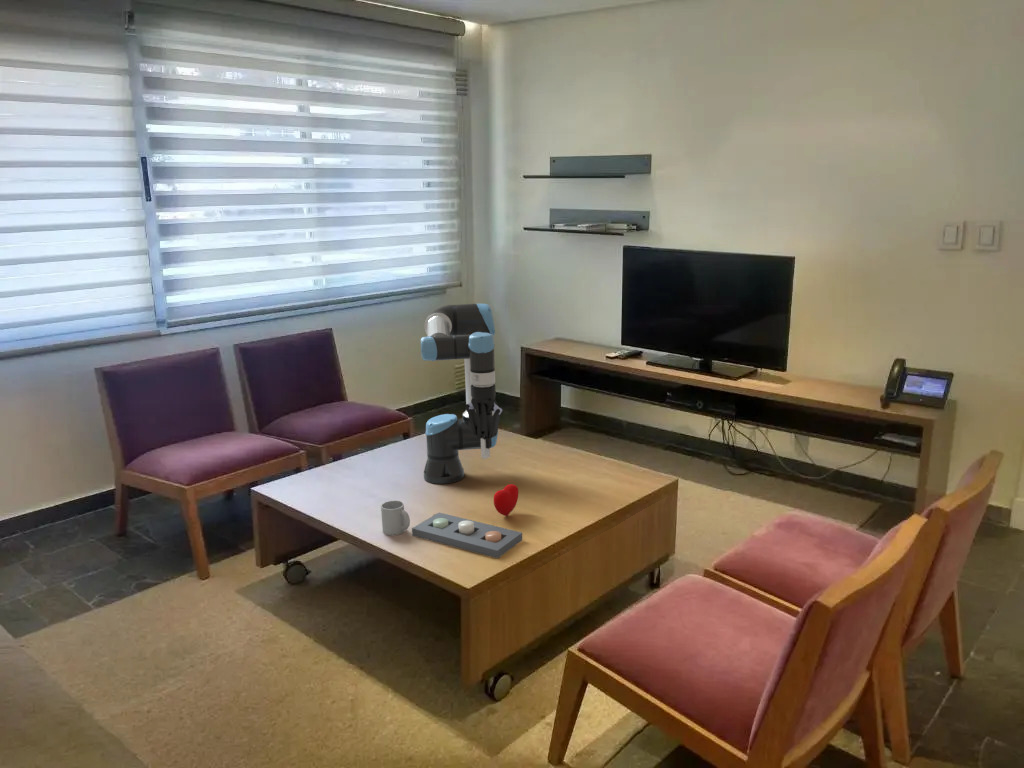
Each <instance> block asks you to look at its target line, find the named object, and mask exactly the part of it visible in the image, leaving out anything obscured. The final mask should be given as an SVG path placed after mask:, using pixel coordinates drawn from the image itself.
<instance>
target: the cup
mask: <svg viewBox="0 0 1024 768" xmlns="http://www.w3.org/2000/svg"><path fill="white" fill-rule="evenodd" d="M380 512H381V526H382V527H381V528H382V532H383V534H385V535H387V536H398V535H402V534H403V533H404V532H405V531H407V530H408V529H409V527H410V524H411V520H410V515H409V514H408V512H407V511H406V510H405V503H404V502H403V501H401V500H388V501H384V502H383V503H382V504H381V505H380Z"/></svg>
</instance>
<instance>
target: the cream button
mask: <svg viewBox="0 0 1024 768" xmlns="http://www.w3.org/2000/svg"><path fill="white" fill-rule="evenodd" d="M468 520H469V519H468ZM468 520H467V521H461V522H459V524H458V526H459V534H462V535H466V536H470V535H471V534H473V533H474V522H472V521H473V520H472V521H468Z"/></svg>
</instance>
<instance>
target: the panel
mask: <svg viewBox="0 0 1024 768" xmlns="http://www.w3.org/2000/svg"><path fill="white" fill-rule="evenodd" d="M438 518H445V519H447V520H448V526H447V527H446V528H444V529H439V528H435V527H433V521H434V520H435V519H438ZM467 520H468V521H472V522H474V533H473V534H471V535H470V536H466V535H462V534H459V526H458V524H459V522H461V521H467ZM490 531H498V532H500V533H501V540H500V541H499V542H497V543H494V542H490V541H486V537H485V534H486V533H487V532H490ZM411 535H412V537H416V538H419V539H420V538H421V539H423V540H427V541H431V542H435V543H439V544H442V545H446V546H450V547H454V548H457V549H461V550H464V551H469V552H473V553H476V554H480V555H484V556H488V557H490V556H491V557H490V558H493V559H494V558H495V559H499V558H500V557H502V556H503V555H504V554H506V553H507V552H508V551H510V550H511V549H513V548H514V547H515V546H517V545H518V544H519V543H521V542H522V541H523V532H521V531H517V530H513V529H510V528H509V529H508V528H504V527H501V526H497V525H492V524H488V523H485V522H480V521H476V520H472V519H467V518H463V517H460V516H455V515H452V514H448V513H447V514H446V513H443V512H437V513H436V514H434V515H432V516H430V517H429V518H427V519H424V521H421V522H420V523H418V524H417V525H415V526H413V527H411Z"/></svg>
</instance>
